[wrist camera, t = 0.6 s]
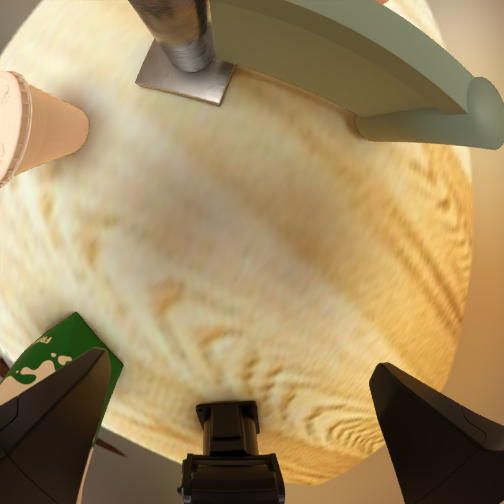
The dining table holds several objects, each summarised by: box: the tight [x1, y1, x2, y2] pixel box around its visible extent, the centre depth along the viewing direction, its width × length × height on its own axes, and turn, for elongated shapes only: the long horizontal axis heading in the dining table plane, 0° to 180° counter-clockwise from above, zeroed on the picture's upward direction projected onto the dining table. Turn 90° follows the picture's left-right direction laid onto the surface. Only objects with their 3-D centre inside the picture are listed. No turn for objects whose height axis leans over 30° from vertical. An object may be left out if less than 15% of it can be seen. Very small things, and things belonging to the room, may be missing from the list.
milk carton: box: [0, 312, 124, 504], centre depth 14 cm, size 9×9×20 cm
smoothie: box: [0, 70, 89, 188], centre depth 10 cm, size 6×6×14 cm
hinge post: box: [128, 0, 236, 106], centre depth 9 cm, size 6×6×14 cm
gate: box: [208, 0, 504, 150], centre depth 11 cm, size 12×3×10 cm, turn 70°
